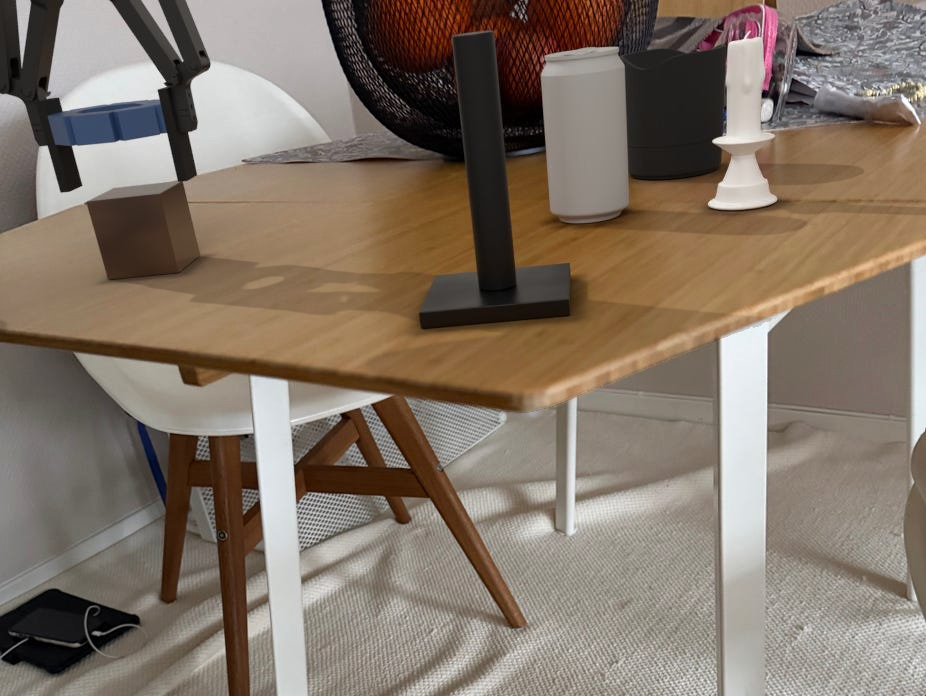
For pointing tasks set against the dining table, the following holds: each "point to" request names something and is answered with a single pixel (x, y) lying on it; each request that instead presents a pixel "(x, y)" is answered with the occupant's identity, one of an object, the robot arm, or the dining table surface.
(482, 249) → the post stand
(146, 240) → the brown matte cube
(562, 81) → the beverage can
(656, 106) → the pen holder
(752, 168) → the candle
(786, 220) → the dining table surface
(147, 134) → the ring
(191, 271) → the dining table surface
